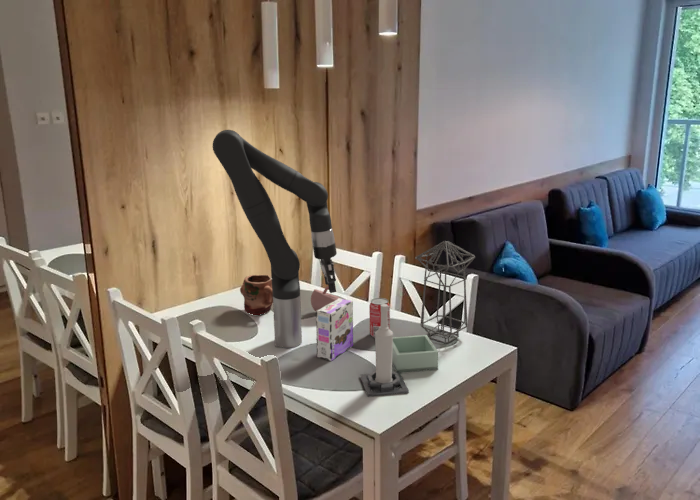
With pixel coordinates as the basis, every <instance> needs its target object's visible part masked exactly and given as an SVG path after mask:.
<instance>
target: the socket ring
mask: <svg viewBox="0 0 700 500" xmlns="http://www.w3.org/2000/svg"><path fill="white" fill-rule="evenodd" d="M401 374H402V373H400V372H399V371H396V370H395V371H393V370H392V379H393V381H392V382H389V383H380V382H376V381H375V378H376V369H375V370H373V371H372V372H370V373H364V374H360V376H359V378H360V380H361V383H362V385H363V387H364V388H363V389H364V391H365V394H366V396H367V397H368V398H369V397H377V396H378V397H379V396H389V395H390V396H391V395H399V394H409V393H410V391H409V388H408V386H407V384H406V382H405V380H404V378H403V376H402V375H401Z"/></svg>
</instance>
